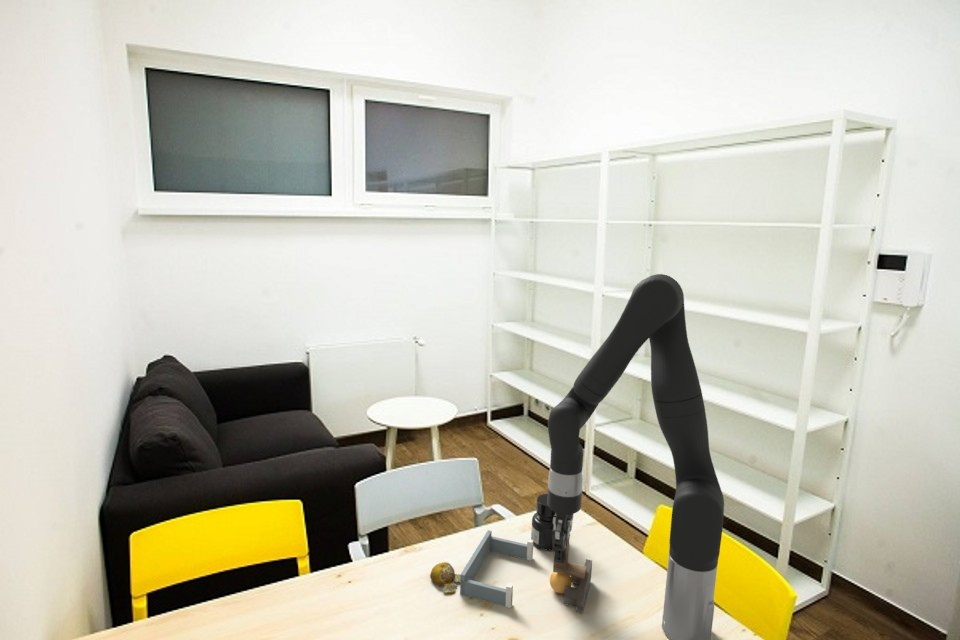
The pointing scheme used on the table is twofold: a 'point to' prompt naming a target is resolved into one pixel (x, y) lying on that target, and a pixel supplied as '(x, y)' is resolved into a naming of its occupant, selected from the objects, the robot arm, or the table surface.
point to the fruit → (445, 577)
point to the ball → (559, 582)
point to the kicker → (575, 580)
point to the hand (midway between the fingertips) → (561, 556)
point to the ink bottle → (542, 524)
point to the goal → (477, 559)
